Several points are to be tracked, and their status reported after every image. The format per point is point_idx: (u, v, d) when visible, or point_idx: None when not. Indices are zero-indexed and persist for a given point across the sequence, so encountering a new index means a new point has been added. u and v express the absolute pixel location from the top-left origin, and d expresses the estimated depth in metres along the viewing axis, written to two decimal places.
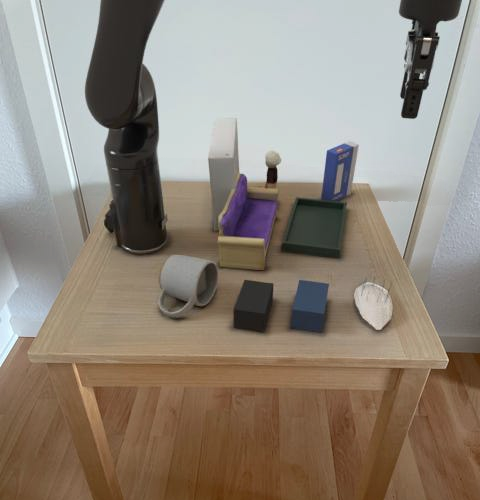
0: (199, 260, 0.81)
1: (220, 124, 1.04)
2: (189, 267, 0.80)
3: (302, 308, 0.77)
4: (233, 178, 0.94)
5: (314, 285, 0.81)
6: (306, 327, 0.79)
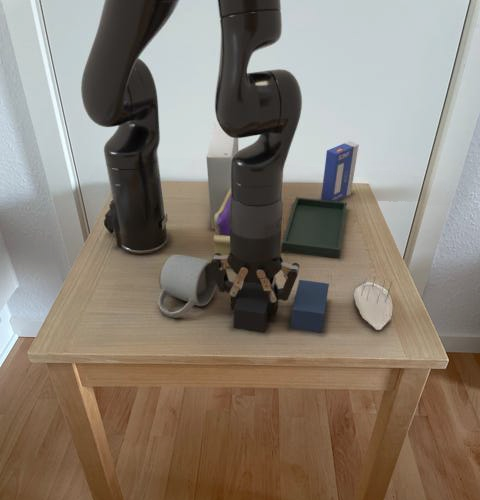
0: (199, 260, 0.81)
1: None
2: (189, 267, 0.80)
3: (302, 308, 0.77)
4: None
5: (314, 285, 0.81)
6: (306, 327, 0.79)
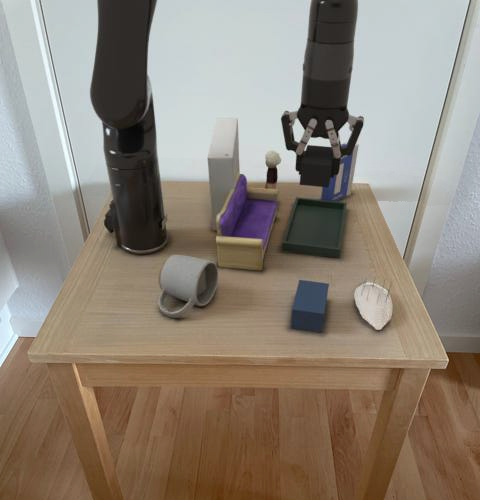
0: (199, 260, 0.81)
1: (220, 124, 1.05)
2: (189, 267, 0.80)
3: (302, 308, 0.77)
4: (232, 178, 0.95)
5: (314, 285, 0.81)
6: (306, 327, 0.79)
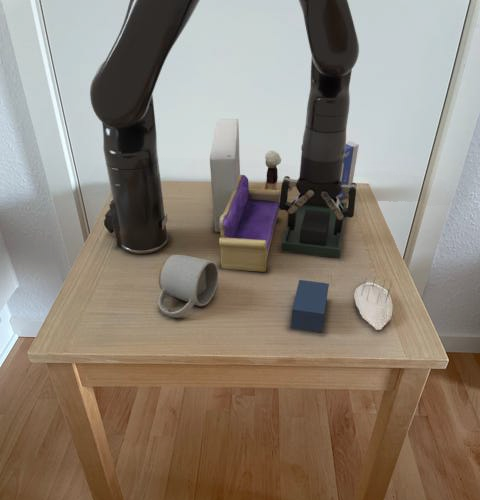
0: (199, 260, 0.81)
1: (221, 125, 1.04)
2: (189, 267, 0.80)
3: (302, 308, 0.77)
4: (234, 179, 0.94)
5: (314, 285, 0.81)
6: (306, 327, 0.79)
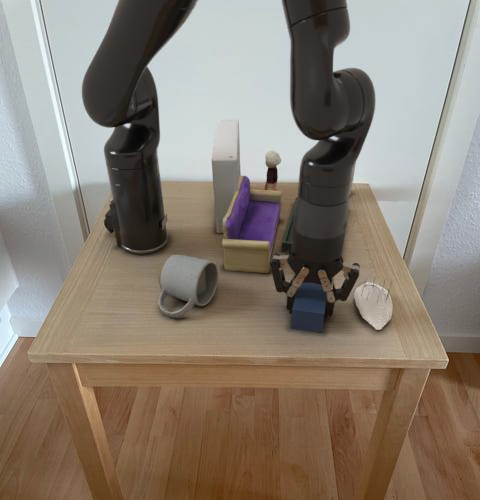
0: (199, 260, 0.81)
1: (222, 126, 1.04)
2: (189, 267, 0.80)
3: (302, 308, 0.77)
4: (236, 180, 0.94)
5: (314, 285, 0.81)
6: (306, 327, 0.79)
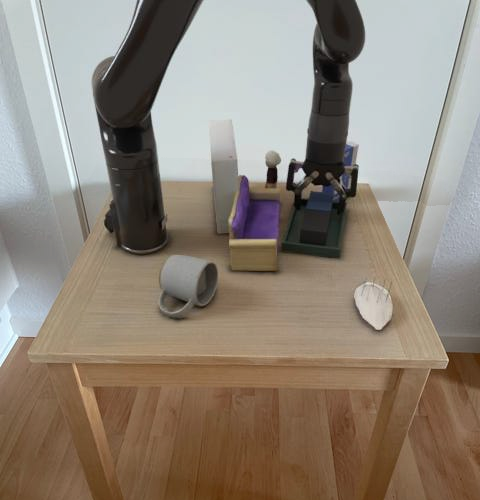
0: (199, 260, 0.81)
1: (216, 126, 1.03)
2: (189, 267, 0.80)
3: (313, 208, 1.00)
4: (237, 180, 0.94)
5: (322, 194, 1.05)
6: None
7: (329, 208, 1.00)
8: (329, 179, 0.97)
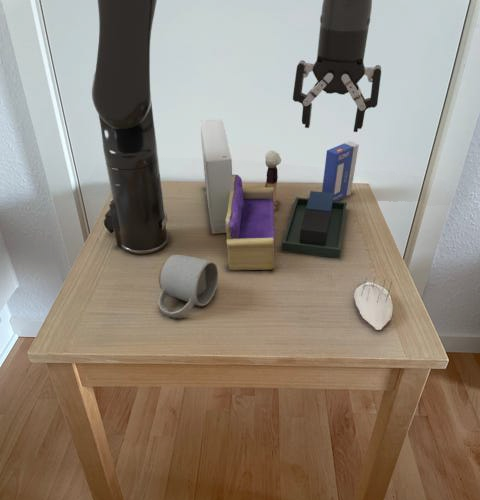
0: (199, 260, 0.81)
1: (207, 126, 1.03)
2: (189, 267, 0.80)
3: (313, 208, 1.00)
4: (231, 180, 0.94)
5: (322, 194, 1.05)
6: None
7: (329, 208, 1.00)
8: (346, 83, 0.80)
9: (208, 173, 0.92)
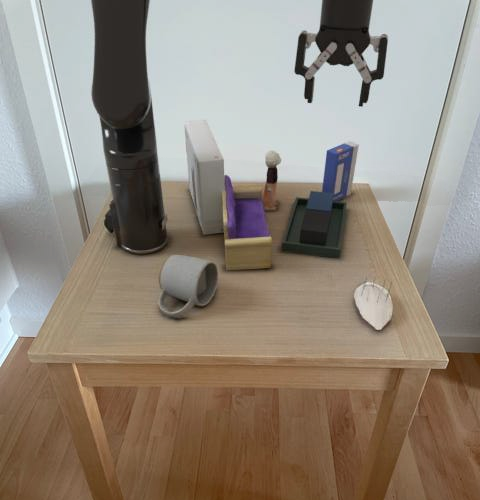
0: (199, 260, 0.81)
1: (192, 127, 1.03)
2: (189, 267, 0.80)
3: (313, 208, 1.00)
4: (223, 180, 0.94)
5: (322, 194, 1.05)
6: None
7: (329, 208, 1.00)
8: (350, 53, 0.76)
9: (200, 174, 0.92)
